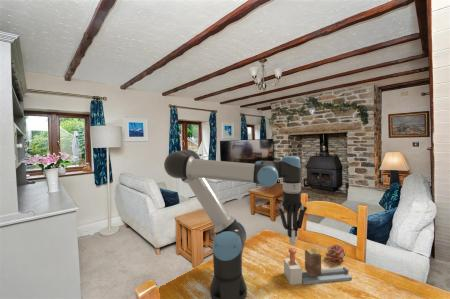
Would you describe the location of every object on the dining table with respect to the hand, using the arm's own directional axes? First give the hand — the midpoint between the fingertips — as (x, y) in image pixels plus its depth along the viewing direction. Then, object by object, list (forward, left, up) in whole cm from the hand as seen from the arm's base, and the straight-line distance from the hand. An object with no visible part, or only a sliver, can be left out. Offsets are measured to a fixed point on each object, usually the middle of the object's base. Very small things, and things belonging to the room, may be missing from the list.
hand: (292, 243), depth 95 cm
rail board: (+14, -1, -16) cm, 21 cm away
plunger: (0, 0, -9) cm, 9 cm away
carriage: (+9, -1, -13) cm, 16 cm away
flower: (+26, +10, -16) cm, 33 cm away
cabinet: (0, 0, -16) cm, 16 cm away
